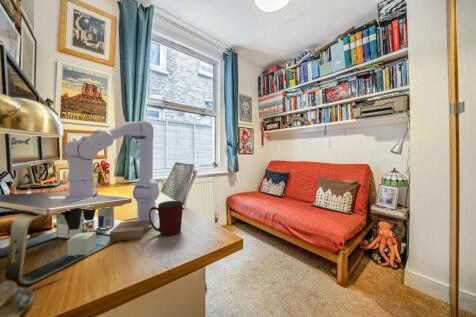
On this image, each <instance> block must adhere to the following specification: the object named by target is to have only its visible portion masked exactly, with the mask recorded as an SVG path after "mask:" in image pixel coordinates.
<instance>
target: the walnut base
mask: <svg viewBox="0 0 476 317" xmlns="http://www.w3.org/2000/svg"><path fill="white" fill-rule="evenodd" d="M149 224H150V223H149V220H146V221H136V220H133V221H121V222H120V223H118V224H117V226H115V227H114V228H113V229H112V230H111V231H110V232H109V241H110V242H115V241H117V242H118V241H126V240H127V241H128V240H140V239H143V237H144V235H145V234H146V232H147V230H148V229H149Z"/></svg>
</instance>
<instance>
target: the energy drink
mask: <svg viewBox="0 0 476 317" xmlns="http://www.w3.org/2000/svg"><path fill="white" fill-rule="evenodd" d="M113 225H114V226H115V206H114V207H110V208H101V209H98V208H97V229H99V228H107V227H111V226H113ZM114 226H113V227H114ZM111 228H112V227H111Z"/></svg>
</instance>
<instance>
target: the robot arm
mask: <svg viewBox="0 0 476 317" xmlns="http://www.w3.org/2000/svg"><path fill="white" fill-rule="evenodd" d="M93 132H94V133H91V134H90V135H88V136H86V135H84V136H83V135H82V136H81V137H80V139H79V140H70V141H68V142H67V143H66V145H65V146H64V148H63V149H62V154H63V155H64V156H65V157H66V160H67V164H68V194H65V195H64V196H65V199H63V200H61V204H72V203H73V202H77V201H80V200H83V199H86V198H89V197H95V196H98V194H99V192H98V190H99V189H94V159H96V158H97V156H98V154H99V153H100V152H101V151H103V150H105V149H107V148H108V147H111V146H112V145H113V144H114V141H116V140H117V139H118V138H122V137H124V136H128V138H131V139H132V140H134V141H136V143H138V144H139V161H138V162H139V163H138V165H139V167H138V169H139V172H138V173H139V174H138V180H137V181H136V182H135V183H134V188H133V190H132V196H133V198H134V200H135V201H136V203H137V204H136V205H137V208H136V209H137V211H136V214H137V215H136V218H137V219H136V220H135V221H146V220H149V210H150V209H151V208H152V207H157V202H156V201H157V199H159V197H160V189H159V182H157V181H156V180H155V179H154V178H153V170H154V168H153V166H154V164H153V163H154V161H153V160H154V159H153V158H154V126H153V125H152V123H151V122H150V121H148V120H144V121H143V120H141V121H140V120H139V121H136V120H135V121H125V122H122V123H121V124H120V125H118V126H115V127H113V128H112V129H110V130H108V131H106V130H101V129H96V130H94V131H93ZM82 211H83V214H84V221H93V220H94V218H95V215H96V211H97V208H96V209H94V210H81V209H74V210H71V211H65V212H61V213H62V215H63V216H64V218H65V220H66V222H67V225H68V228H69V230H75V229H79V226H80V219H81V214H82ZM150 217H151V221H152V223H153V224H154V222H156V220H157V218H159V214H157V210H156V209H154V210H152V211H151V212H150ZM149 224H151V223H150V220H149Z"/></svg>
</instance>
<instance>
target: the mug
mask: <svg viewBox="0 0 476 317" xmlns="http://www.w3.org/2000/svg"><path fill="white" fill-rule="evenodd" d="M183 206H184V203H183V201H180V200H167V201H163V202H159V203H158V204H157V206H156V207H152V208H151V209H150V210H149V220H150V223H149V224H150V225H151V227H152V229H153V230H154V231H156V232H159V233H160V235H161V236H163V237H172V236H177V235H179V234H180V233H181V232H182V224H183V223H182V222H183V221H182V220H183V209H184V207H183ZM154 209H156V212H157V213H158V214H157V215H158V223H159V225H158V226H159V227H156V226H155V225H154V222H153V223H152V221H151V217H150V212H151V211H152V210H154Z"/></svg>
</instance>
